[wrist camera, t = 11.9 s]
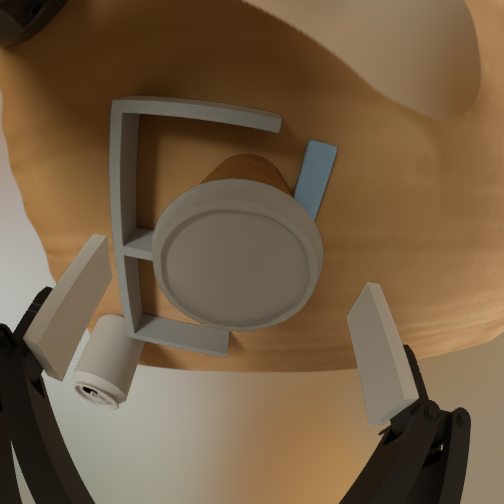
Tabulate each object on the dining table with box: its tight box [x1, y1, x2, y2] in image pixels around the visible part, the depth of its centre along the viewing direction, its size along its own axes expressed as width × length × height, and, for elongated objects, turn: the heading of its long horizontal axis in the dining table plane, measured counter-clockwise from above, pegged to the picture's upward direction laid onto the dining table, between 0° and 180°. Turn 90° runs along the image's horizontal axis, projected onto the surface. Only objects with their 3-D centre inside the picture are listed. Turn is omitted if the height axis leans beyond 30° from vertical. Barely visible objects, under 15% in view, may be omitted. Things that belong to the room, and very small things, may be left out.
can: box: [73, 314, 145, 410], centre depth 32 cm, size 8×8×12 cm
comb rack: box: [109, 95, 282, 358], centre depth 26 cm, size 27×12×4 cm, turn 169°
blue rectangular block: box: [293, 139, 338, 221], centre depth 25 cm, size 11×2×1 cm, turn 169°
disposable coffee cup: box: [152, 154, 324, 332], centre depth 19 cm, size 10×10×12 cm
